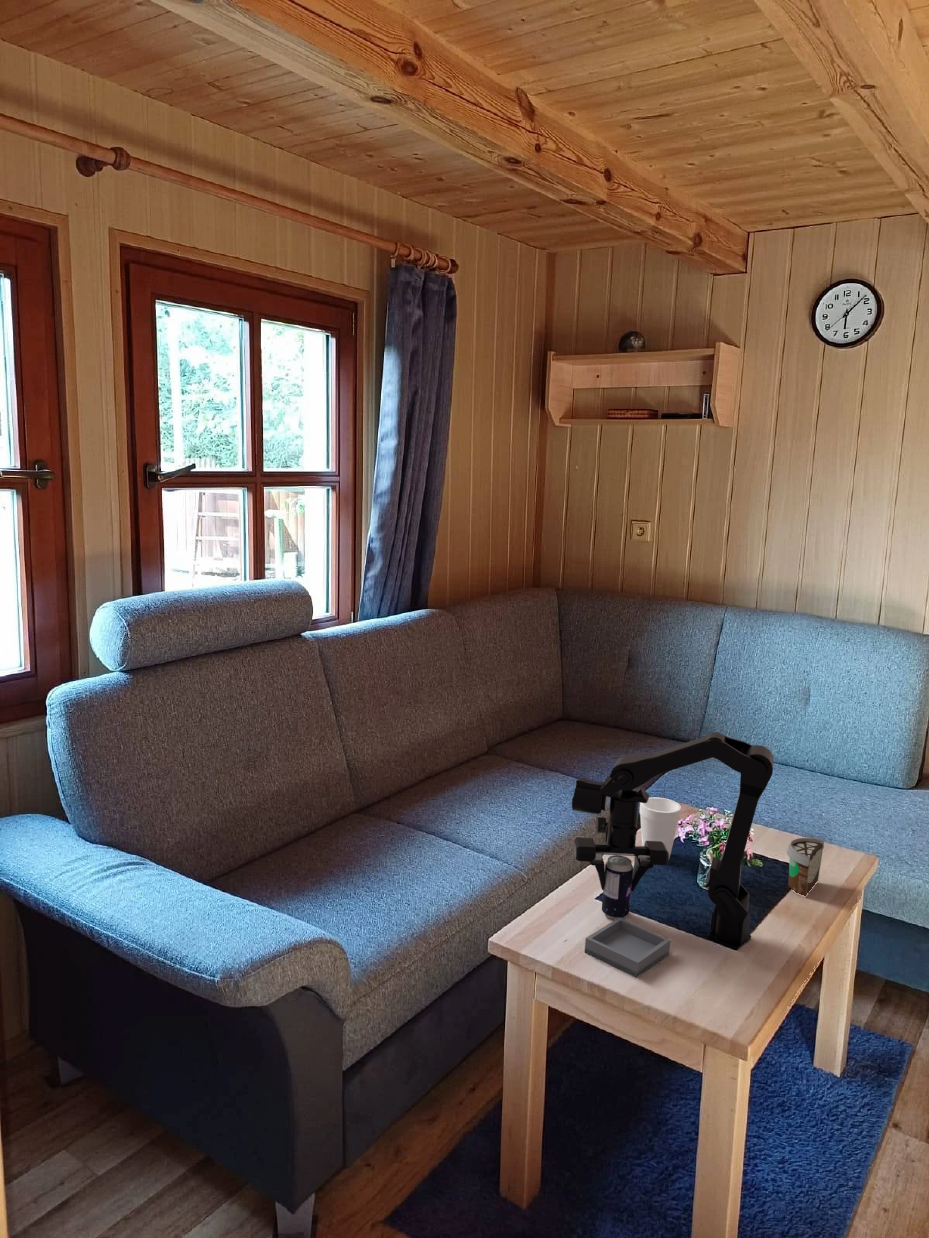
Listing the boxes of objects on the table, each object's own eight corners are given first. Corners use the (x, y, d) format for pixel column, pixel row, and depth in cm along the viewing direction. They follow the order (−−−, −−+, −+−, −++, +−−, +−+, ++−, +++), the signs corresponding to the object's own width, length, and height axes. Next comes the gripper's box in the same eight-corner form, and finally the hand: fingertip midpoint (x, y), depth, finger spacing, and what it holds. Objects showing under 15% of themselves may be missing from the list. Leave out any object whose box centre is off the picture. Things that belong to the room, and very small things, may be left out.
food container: (792, 872, 215) (797, 832, 213) (819, 880, 211) (824, 839, 209) (775, 891, 205) (780, 849, 203) (803, 900, 201) (809, 857, 199)
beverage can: (628, 923, 188) (633, 868, 186) (600, 919, 189) (604, 864, 187) (629, 909, 193) (634, 856, 191) (602, 906, 194) (606, 852, 192)
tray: (669, 954, 177) (670, 939, 176) (636, 977, 168) (638, 962, 168) (618, 931, 184) (619, 917, 184) (584, 952, 176) (585, 937, 175)
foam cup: (629, 857, 218) (634, 805, 216) (644, 844, 226) (649, 794, 224) (667, 868, 213) (672, 815, 211) (682, 855, 221) (687, 804, 218)
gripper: (661, 805, 195) (655, 874, 198) (572, 801, 195) (567, 869, 198) (672, 826, 184) (665, 899, 187) (578, 822, 184) (573, 894, 187)
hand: (617, 889), depth 190 cm, fingers closed on beverage can, 6 cm apart
